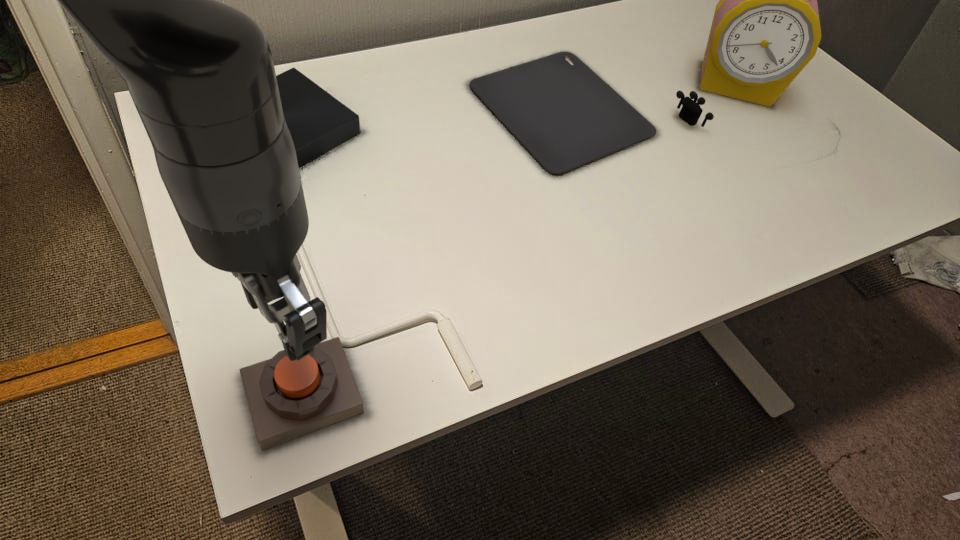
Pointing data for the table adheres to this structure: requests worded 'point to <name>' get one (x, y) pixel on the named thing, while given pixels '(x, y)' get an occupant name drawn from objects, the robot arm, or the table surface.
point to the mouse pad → (562, 111)
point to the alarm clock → (759, 47)
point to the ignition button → (297, 376)
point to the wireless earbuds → (692, 108)
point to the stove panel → (314, 116)
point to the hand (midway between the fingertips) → (281, 325)
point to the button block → (300, 416)
